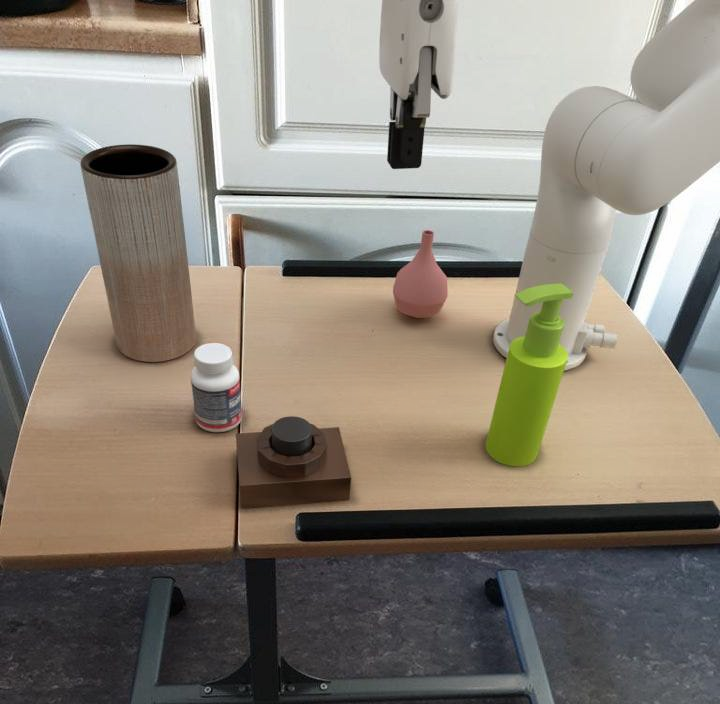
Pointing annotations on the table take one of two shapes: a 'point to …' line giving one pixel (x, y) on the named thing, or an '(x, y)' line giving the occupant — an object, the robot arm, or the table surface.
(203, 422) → the pill bottle
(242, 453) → the brown button base
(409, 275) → the pink vase
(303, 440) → the dark grey push button
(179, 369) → the table surface
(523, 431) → the soap dispenser
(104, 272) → the planter
